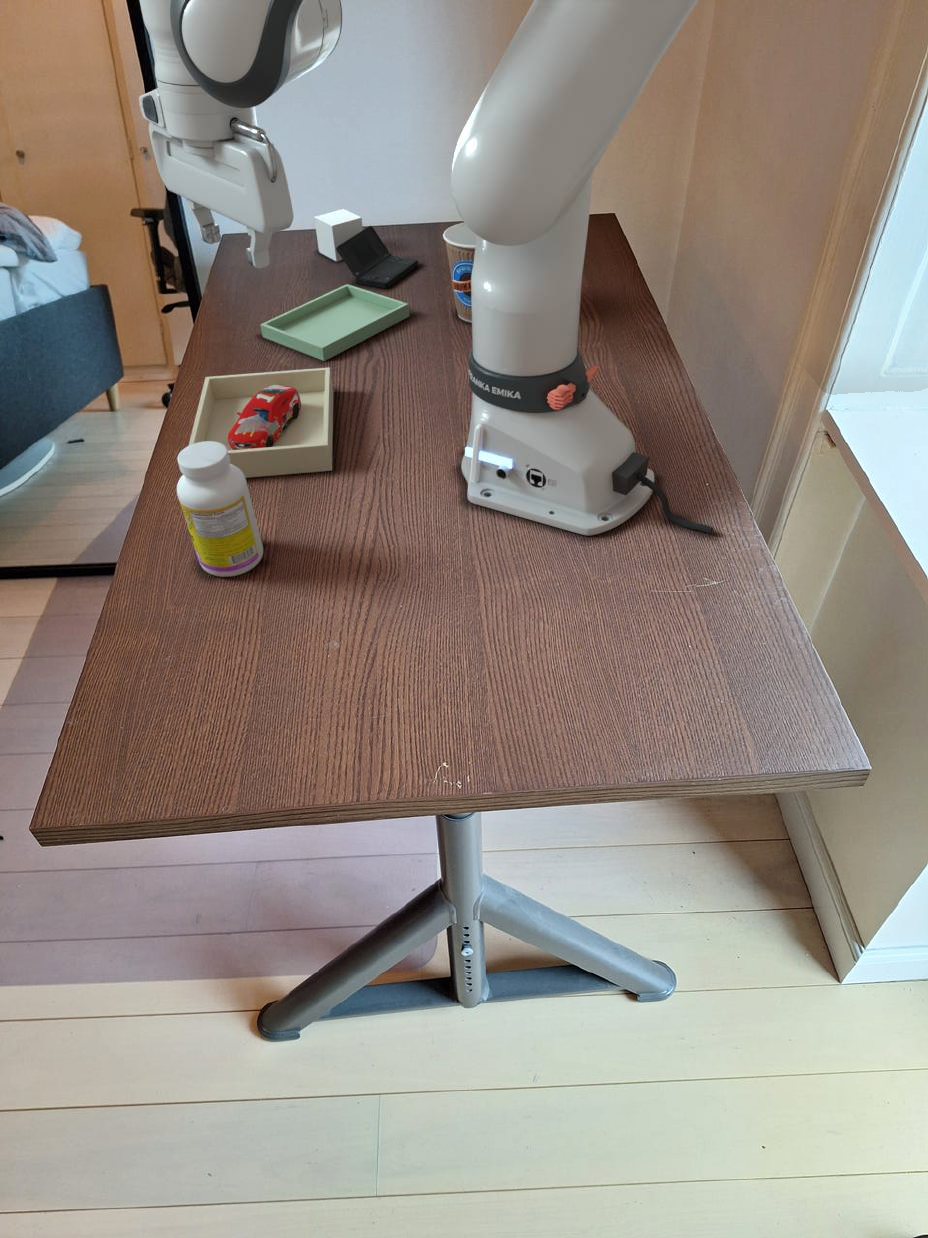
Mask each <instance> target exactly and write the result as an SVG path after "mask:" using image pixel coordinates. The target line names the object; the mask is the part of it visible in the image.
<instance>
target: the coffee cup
mask: <svg viewBox="0 0 928 1238" xmlns="http://www.w3.org/2000/svg"><path fill="white" fill-rule="evenodd" d="M476 237H477V235H476V234H475V233H474V232H473V231H472V230H471V229H469V227H468V226H467V225H466V224H465V223H464V222H459V223H457V224H454V225H451V226H450V227H448V228H446V229H445V230H444V232H443V234H442V238H443V240H444V241H445V246H446V253H447V259H448V265H449V271H450V277H451V278H450V279H451V286H452V291H453V298H454V304H455V309H456V310H457V315H458V318H459V319H460V320H462V321H464V322H467V323H470V324H472V305H471V274H472V269H473V263H474V255H475V247H476Z"/></svg>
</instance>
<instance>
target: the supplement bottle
mask: <svg viewBox="0 0 928 1238" xmlns="http://www.w3.org/2000/svg"><path fill="white" fill-rule="evenodd" d="M177 464H178V467H179V471H180V473H181V474H182V475H181V476H180V478H179V480H178V482H177V484H176V496H177V499H178V501H179V504H180V507H181V511H182V514H183V517H184V520H185V523H186V526H187V530H188V532H189V535H190V538H191V542H192V545H193V548H194V551H195V554H196V557H197V560H198V562H199V565H200V566H201V568H202V569H203V571H205V572H206V573H207V574H210V575H213V576H215V577H220V578H226V577H235V576H240V575H242V574H245V573H247V572H249V571H251V570H253V569H254V568H255V567H257V565H258V564H259V563H260V561H261V560H262V558H263V556H264V555H263V554H264V545H263V541H262V537H261V533H260V530H259V525H258V521H257V517H256V514H255V510H254V507H253V506H254V505H253V503H252V499H251V493H250V490H249V487H248V482H247V479H246V478H245V476H244V474H243V473H242V471H241V470H240V469H239V468H237V467H236V466H234V465H232V464H230V457H229V454H228V450H227V448H226V447H225V446H224V445H223V444H221V443H219V442H214V441H205V442H198V443H195V444H192V445H189V444H188V446H186V447H184V448H183V449H182V450H181V451H180V452H179V453H178V454H177Z"/></svg>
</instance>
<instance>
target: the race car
mask: <svg viewBox="0 0 928 1238" xmlns="http://www.w3.org/2000/svg"><path fill="white" fill-rule="evenodd" d="M300 409H301V401H300V396H299V394H298V392H297V390H296V389H295V388H293V387H290V386H283V385H272V386H269V387H266V388H264V389H262V390H261V391H259V392H258V393H257V394H256V395H255V396H254V397H253V398H252V399H251V400H250V401H249V403H248V404H247V405H246V406H245V408H244V409H243V411H242V413H240V412H237V415H239V416H240V417H239V419H238V420H237V422H236V423H235V425H234V426H233V428H232V429H231V430H230V431H229V434H228V443H229V445H230V447H231V448H232V449H233V450H242V449H254V448H266V447H273V442H276V440H277V439H278V438H279V437H280V435H281V434H282V433H283V432H284V430H285V429H286V428H287V427H288V426H289V424H290V423H291V422H292V421H293V419H296V418H297V417H298V415H299V410H300Z"/></svg>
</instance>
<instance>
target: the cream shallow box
mask: <svg viewBox="0 0 928 1238" xmlns="http://www.w3.org/2000/svg"><path fill="white" fill-rule="evenodd" d="M272 385H283V386H290V387H293V388H295V389H296V390H297V392H298V394H299V396H300V401H301V409H300V410H299V415H298V417H297V418H296V419H293V421H292V422H291V423H290V424H289V426H288V427H287V428H286V429H285V430H284V432H283V433H282V434H281V435H280V437H279V438H278V439H277V440H276V442H273V447H266V448H254V449H242V450H233V449H232V448H231V447H230V445H229V443H228V434H229V431H230V430H231V429H232V428H233V426H234V425H235V423H236V422H237V420H238V419H239V417H240V416H239V415H237V412H240V413H242V411H243V409H244V408H245V406H246V405H247V404H248V403H249V401H250V400H251V399H252V398H253V397H254V396H255V395H256V394H257V393H258V392H259V391H261V390H262V389H264V388H266V387H269V386H272ZM192 426H193V427H192V430H191V434H190V438H189V442H188V446H189V445H192V444H195V443H198V442H205V441H214V442H219V443H221V444H223V445H224V446H225V447H226V448H227V450H228V454H229V457H230V464H232V465H234V466H236V467H237V468H239V469H240V470H241V471H242V473H243V474H244V476H245V478H259V477H271V476H281V475H282V476H284V475H292V474H294V475H295V474H306V473H307V474H308V473H319V472H331V471H333V441H334V440H333V439H334V437H333V436H334V435H333V433H334V385H333V380H332V372H331V368H330V367H319V368H318V367H317V368H305V369H290V370H280V371H279V370H278V371H267V372H253V373H251V372H250V373H239V374H226V375H215V376H214V375H213V376H205V378H204V382H203V385H202V390H201V393H200V398H199V402H198V406H197V410H196V414H195V418H194V422H193V425H192Z"/></svg>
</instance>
